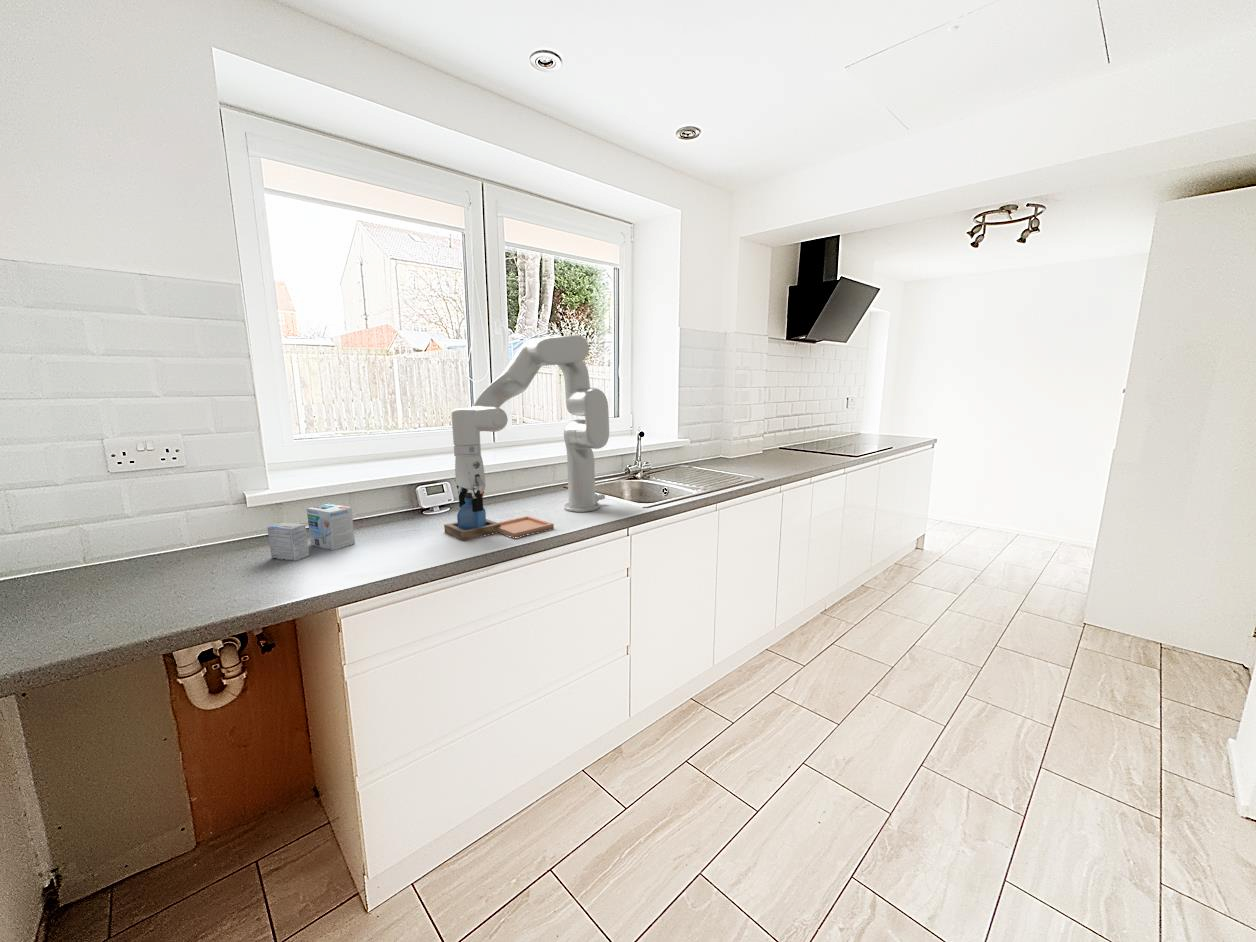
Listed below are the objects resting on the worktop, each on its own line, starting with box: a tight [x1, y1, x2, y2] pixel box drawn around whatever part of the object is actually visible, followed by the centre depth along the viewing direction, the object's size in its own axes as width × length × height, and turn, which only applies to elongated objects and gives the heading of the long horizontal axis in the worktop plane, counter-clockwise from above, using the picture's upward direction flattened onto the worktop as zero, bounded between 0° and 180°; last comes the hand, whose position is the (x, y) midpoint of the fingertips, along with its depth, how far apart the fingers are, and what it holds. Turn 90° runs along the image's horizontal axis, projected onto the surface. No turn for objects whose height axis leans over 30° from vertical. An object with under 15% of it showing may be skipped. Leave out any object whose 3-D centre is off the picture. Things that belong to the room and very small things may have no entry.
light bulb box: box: [306, 503, 356, 551], centre depth 140 cm, size 11×7×11 cm, turn 62°
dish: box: [497, 515, 555, 538], centre depth 154 cm, size 14×14×2 cm
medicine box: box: [267, 522, 310, 562], centre depth 130 cm, size 8×4×9 cm, turn 74°
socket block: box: [443, 518, 501, 542], centre depth 151 cm, size 12×12×2 cm
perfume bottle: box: [456, 492, 487, 530], centre depth 150 cm, size 6×6×12 cm
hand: (471, 508), depth 150 cm, fingers open, 7 cm apart
